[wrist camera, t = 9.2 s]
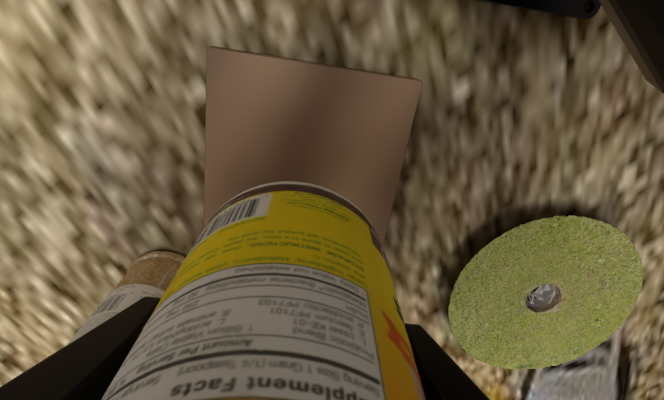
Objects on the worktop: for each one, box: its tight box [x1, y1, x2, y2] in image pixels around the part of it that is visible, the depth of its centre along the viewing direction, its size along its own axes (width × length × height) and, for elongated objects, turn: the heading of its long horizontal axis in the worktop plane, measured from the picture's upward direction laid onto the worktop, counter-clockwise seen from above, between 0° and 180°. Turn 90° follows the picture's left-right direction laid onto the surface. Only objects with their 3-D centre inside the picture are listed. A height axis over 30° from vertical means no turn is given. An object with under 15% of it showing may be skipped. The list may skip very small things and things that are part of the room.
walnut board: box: [204, 46, 422, 248], centre depth 20 cm, size 10×10×1 cm
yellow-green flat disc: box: [448, 215, 643, 370], centre depth 23 cm, size 11×11×2 cm
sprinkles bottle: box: [68, 251, 185, 344], centre depth 17 cm, size 5×5×14 cm
